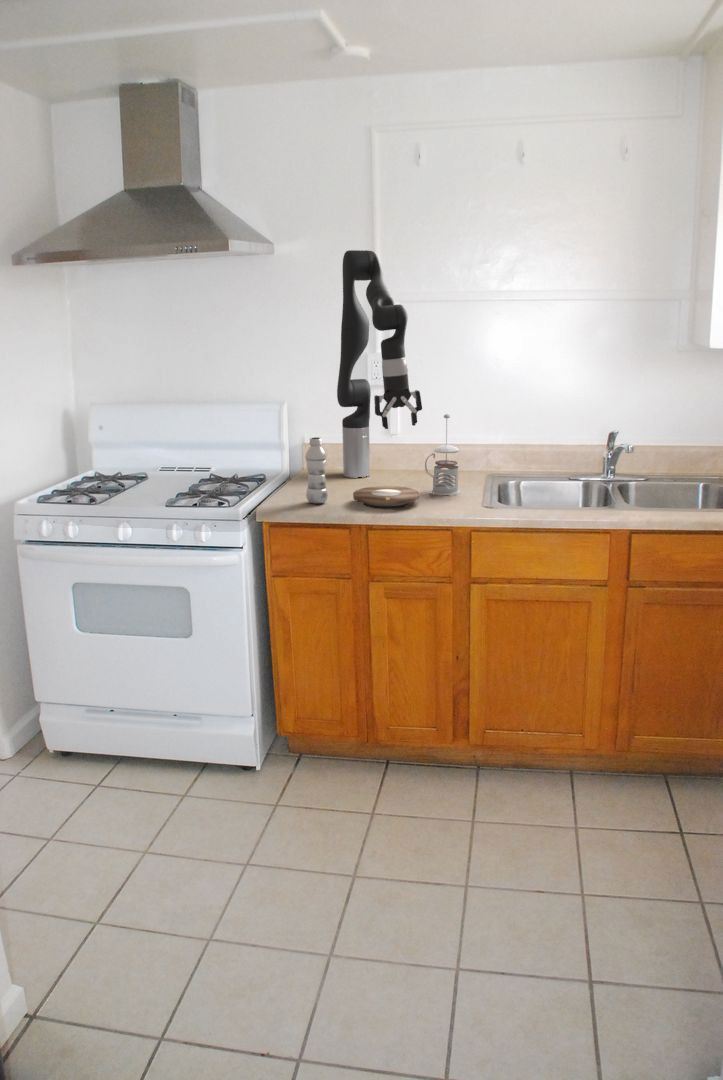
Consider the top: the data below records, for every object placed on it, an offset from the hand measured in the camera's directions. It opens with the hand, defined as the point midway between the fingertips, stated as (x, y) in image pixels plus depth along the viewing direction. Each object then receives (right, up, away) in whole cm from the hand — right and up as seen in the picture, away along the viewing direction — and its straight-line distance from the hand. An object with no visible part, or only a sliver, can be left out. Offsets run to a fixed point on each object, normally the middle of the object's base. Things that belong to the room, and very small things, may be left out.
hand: (400, 427), depth 271 cm
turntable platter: (-4, -22, -2) cm, 22 cm away
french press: (+14, -19, +12) cm, 27 cm away
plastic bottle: (-25, -23, 0) cm, 35 cm away
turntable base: (-4, -23, -2) cm, 24 cm away
